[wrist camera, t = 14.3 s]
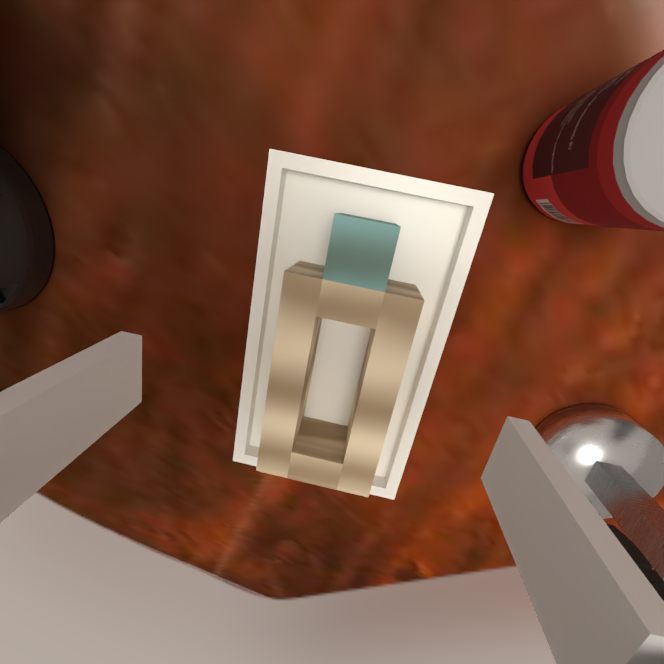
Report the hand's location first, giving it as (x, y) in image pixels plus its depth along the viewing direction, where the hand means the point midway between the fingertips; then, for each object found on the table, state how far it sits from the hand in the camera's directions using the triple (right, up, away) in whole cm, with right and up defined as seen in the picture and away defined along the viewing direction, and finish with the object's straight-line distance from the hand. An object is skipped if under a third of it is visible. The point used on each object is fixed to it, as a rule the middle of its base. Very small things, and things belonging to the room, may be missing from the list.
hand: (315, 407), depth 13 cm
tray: (+2, +2, +17) cm, 17 cm away
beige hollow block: (+1, +2, +16) cm, 16 cm away
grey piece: (+22, -7, +18) cm, 29 cm away
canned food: (+17, +14, +11) cm, 25 cm away
